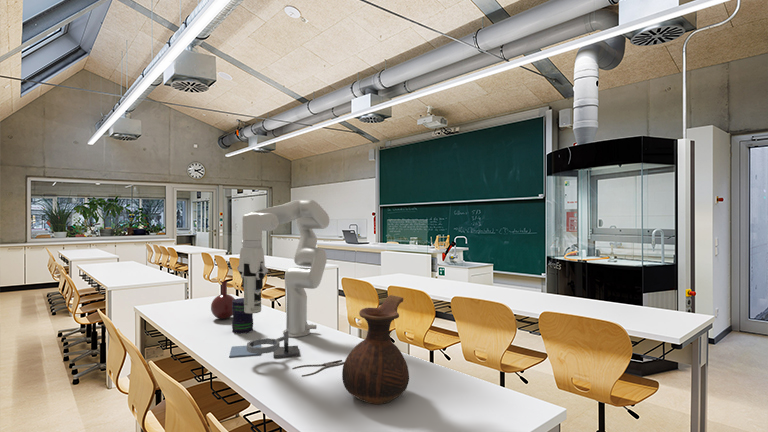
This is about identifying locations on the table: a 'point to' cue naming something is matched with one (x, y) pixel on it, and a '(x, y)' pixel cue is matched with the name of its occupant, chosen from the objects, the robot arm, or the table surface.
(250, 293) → the spray can
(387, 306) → the jug
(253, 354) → the mat
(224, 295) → the round-bottom flask
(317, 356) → the table surface
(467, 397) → the table surface
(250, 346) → the ring stand
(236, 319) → the storage jar
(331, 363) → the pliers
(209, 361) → the table surface
